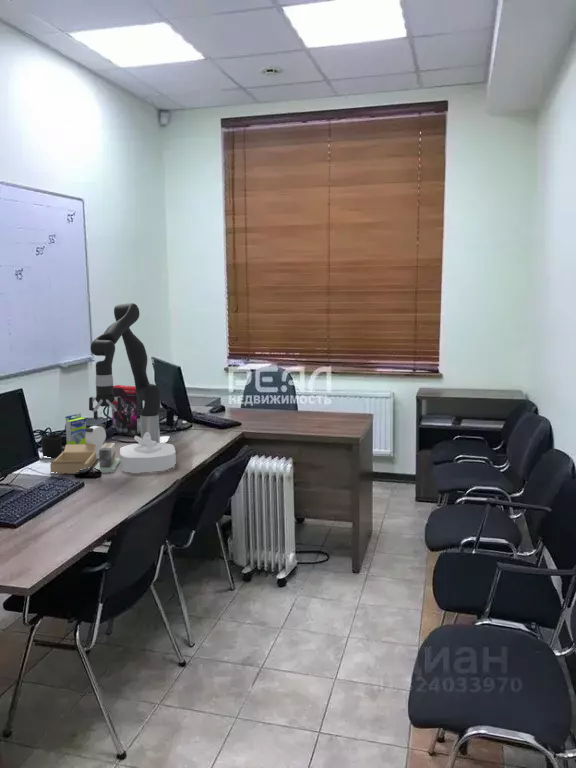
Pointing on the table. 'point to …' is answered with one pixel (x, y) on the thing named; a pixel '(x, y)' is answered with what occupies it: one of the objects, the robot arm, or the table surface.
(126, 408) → the graphics card box
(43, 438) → the pen holder
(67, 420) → the box
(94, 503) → the table surface
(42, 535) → the table surface
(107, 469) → the board
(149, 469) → the tissue box
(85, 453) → the carton
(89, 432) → the white security camera
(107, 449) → the block
